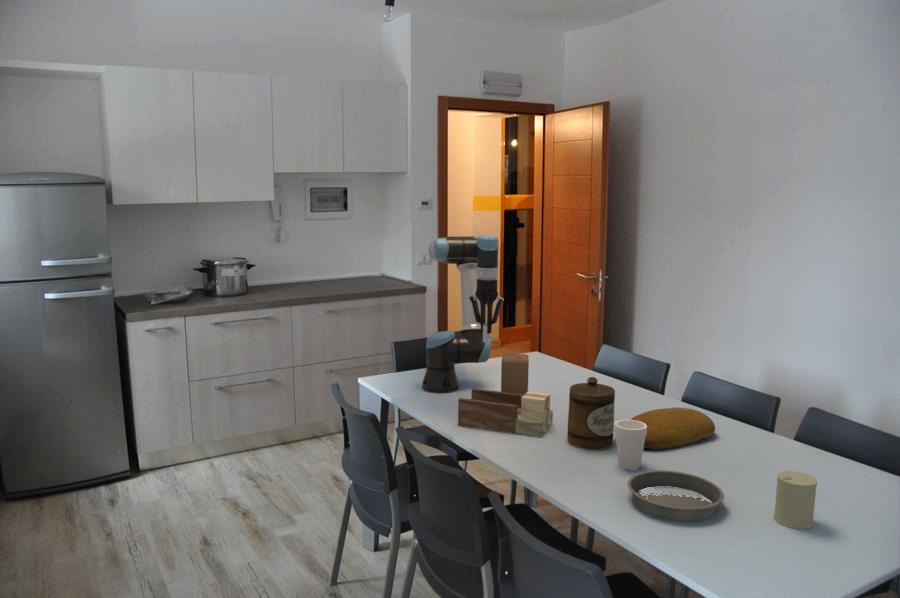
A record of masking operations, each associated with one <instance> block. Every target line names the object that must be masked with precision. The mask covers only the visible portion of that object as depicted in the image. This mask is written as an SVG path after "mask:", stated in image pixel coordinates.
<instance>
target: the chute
mask: <svg viewBox="0 0 900 598" xmlns="http://www.w3.org/2000/svg"><path fill="white" fill-rule="evenodd" d="M470 394H471V395H470V396H471V399H470V398H464V397H460V398H458V403H457V404H458V407H457V409H458V411H457V414H458V415H457V416H458V417H457V418H458V419H457V424H458V425H460V426H459V427H465V426H467V428H472V427H475V428H474V429H479V428H482V429H481V430H486V429H491V430H490V431H493V430H497V431H496V432H500V431H504V432H503V433H507V432H511V433H510V434H514V433H518V434H517V435H521V434H526V435H525V436H528V435H532V436H531V437H535V436H539V437H538V438H542V437H543V436H544V434H546V432H547V431H548V430H547V429H549V428H550V427H551V426H552V425H553V414H554V413H553V412H554V411H553V409H550V414H549V415H548V416H547V417H546V418H545V419H544V420H538V419H531V418H524V417H521V397H522V396H524V394H516V393H508V392H501V390H500V391H499V390H492V389H491V390H490V389H482V388H475V387H473V388H471V392H470ZM551 424H552V425H551ZM550 425H551V426H550ZM546 430H547V431H546ZM545 431H546V432H545ZM542 435H543V436H542ZM541 436H542V437H541Z"/></svg>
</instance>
